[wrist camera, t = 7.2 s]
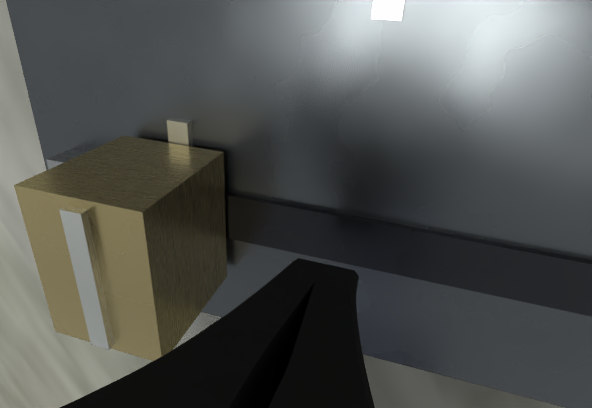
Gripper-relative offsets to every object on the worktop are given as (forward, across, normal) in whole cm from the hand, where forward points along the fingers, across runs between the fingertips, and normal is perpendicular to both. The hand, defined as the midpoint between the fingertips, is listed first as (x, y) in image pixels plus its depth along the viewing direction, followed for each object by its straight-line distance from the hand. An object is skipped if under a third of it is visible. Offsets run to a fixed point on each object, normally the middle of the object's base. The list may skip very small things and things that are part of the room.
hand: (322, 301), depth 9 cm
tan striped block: (+2, +5, 0) cm, 5 cm away
